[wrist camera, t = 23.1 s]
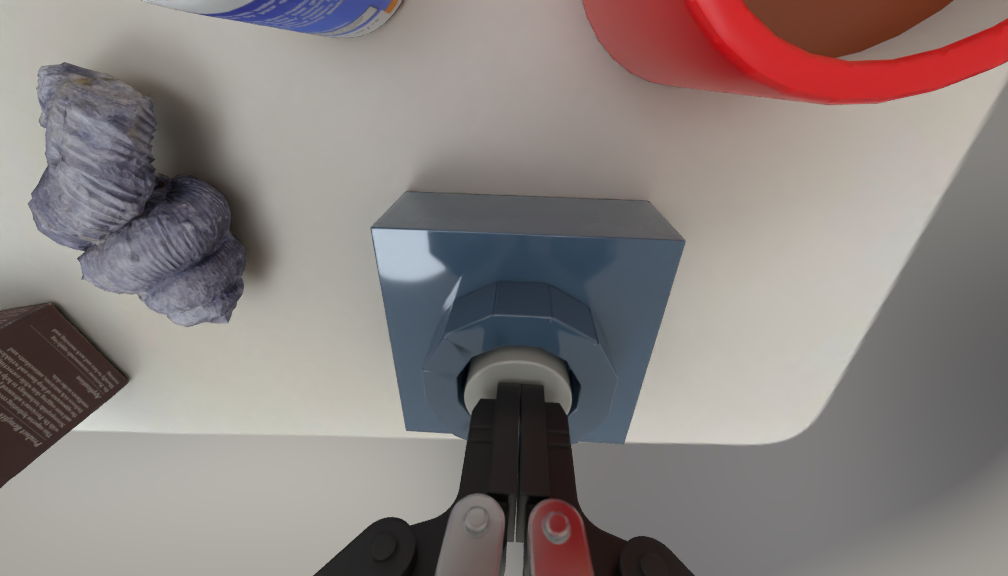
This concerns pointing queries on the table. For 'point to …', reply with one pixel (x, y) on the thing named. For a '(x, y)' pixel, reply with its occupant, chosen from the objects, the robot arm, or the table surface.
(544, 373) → the grey short cylinder
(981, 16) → the mug
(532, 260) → the button housing
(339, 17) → the pill bottle
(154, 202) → the seashell
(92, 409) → the box
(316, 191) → the table surface
